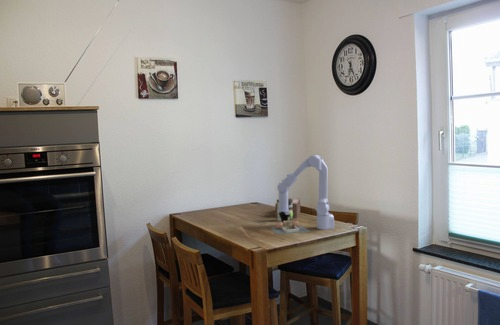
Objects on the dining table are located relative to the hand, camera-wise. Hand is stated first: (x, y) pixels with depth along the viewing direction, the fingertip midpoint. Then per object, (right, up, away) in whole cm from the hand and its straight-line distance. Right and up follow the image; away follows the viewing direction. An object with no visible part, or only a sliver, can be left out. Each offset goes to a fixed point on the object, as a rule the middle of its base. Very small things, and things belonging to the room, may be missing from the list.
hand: (284, 224), depth 236 cm
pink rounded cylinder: (+6, -1, -5) cm, 8 cm away
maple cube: (+1, -1, -6) cm, 7 cm away
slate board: (+2, -3, -11) cm, 11 cm away
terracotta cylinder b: (-3, -1, -7) cm, 8 cm away
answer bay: (+3, -2, -12) cm, 13 cm away
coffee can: (+2, -1, +18) cm, 18 cm away
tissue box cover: (+7, 0, +40) cm, 40 cm away
